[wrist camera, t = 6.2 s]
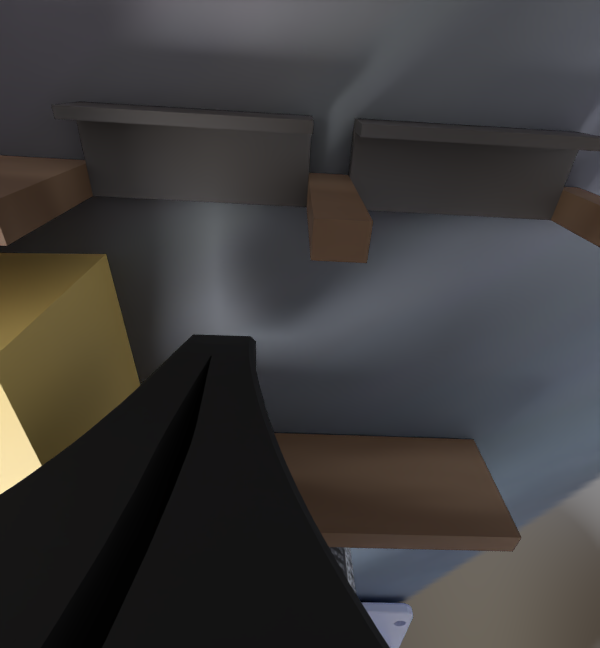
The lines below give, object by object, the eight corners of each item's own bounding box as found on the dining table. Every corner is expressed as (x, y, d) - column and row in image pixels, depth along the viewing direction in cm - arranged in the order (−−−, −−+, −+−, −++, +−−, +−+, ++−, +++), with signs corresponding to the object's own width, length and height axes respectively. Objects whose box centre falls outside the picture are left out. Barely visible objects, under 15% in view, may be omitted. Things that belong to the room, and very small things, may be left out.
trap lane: (467, 452, 12) (512, 551, 10) (-22, 437, 12) (-109, 537, 9) (600, 133, 7) (757, 162, 5) (-214, 83, 7) (-509, 88, 4)
